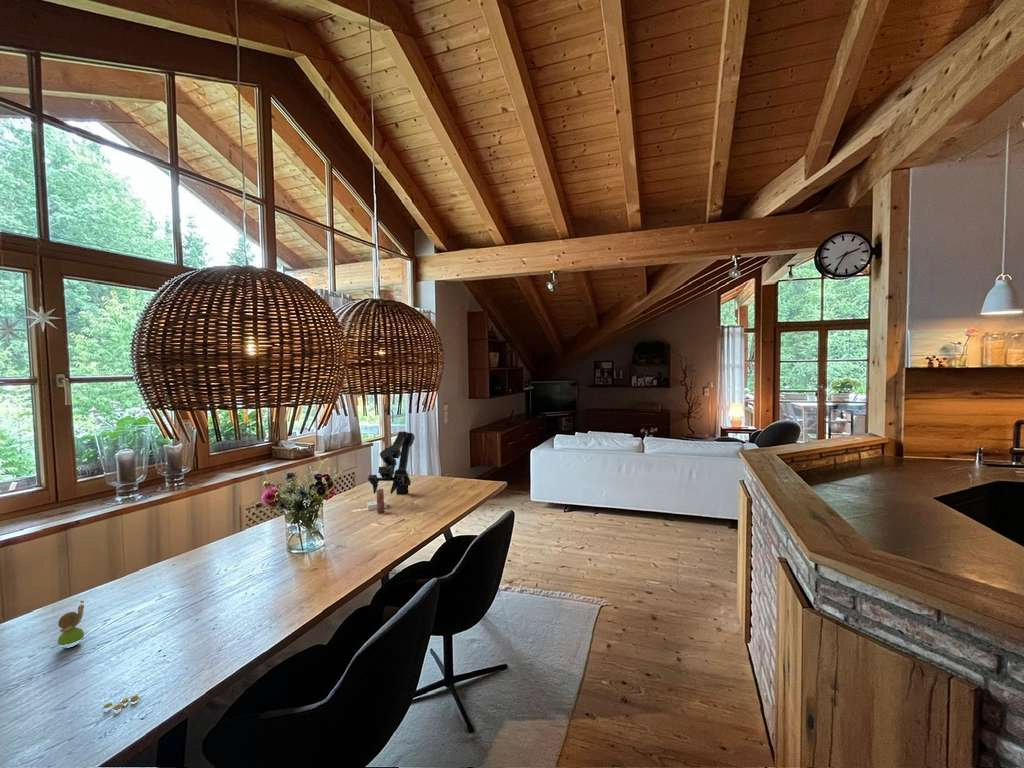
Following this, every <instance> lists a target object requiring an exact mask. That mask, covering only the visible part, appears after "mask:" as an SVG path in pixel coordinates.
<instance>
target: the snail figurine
mask: <svg viewBox="0 0 1024 768" xmlns="http://www.w3.org/2000/svg"><path fill="white" fill-rule="evenodd" d="M79 602H80V603H81V604H80V605H79V606H78V607H77V610H78V611H77V612H75V611H68V612H66V613H64V614H63V615H62V616H61V617H60V618H59V620H58V628H60V630H59V632H60V633H61V634H60V635H59V636H58V638H57V644H58V646H59V645H65V644H70V643H73V642H76V641H78V640H80V639H81V638H83V639H84V637H85V631H84V630H83V629H82V628H81V627H78V625H79V623H80V622H82V621H81V620H82V619H83V615H84V607H85V606H84V602H85V601H84V600H80V601H79ZM76 626H77V627H76ZM83 636H84V637H83Z"/></svg>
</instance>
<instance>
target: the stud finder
mask: <svg viewBox="0 0 1024 768" xmlns="http://www.w3.org/2000/svg"><path fill="white" fill-rule="evenodd" d="M385 508H386V509H387V508H388V503H387V500H386V499H384V509H385ZM366 509H367V511H375V510H377V500H375V501H369V502H366Z"/></svg>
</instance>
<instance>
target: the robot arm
mask: <svg viewBox="0 0 1024 768" xmlns="http://www.w3.org/2000/svg"><path fill="white" fill-rule="evenodd" d="M414 441H415V434H414V433H413V432H408V431H399V432H397V436H396V438H395V440H394V441H393V443H392V445H390V446H389V447H385V448H384V449H383V450H381V451H380V452H379V457H380V458H381V460H382V462H383V463H384V466H378V474H379V476H380V477H379V476H377V474H369V475H368V477H367V480H368V481H369V483H370V484H371V485H372V490H373V494H376V490H378V486H379V482H392V485H391V489H390V494H391V495H392V494H393V493H394V492H395V493H396V494H395V495H397V496H399V495H400V496H401V495H403V496H404V495H407V494H409V486H411V481H412V480H411V479H410V476H409V472H408V471H407V468H408V461H409V455H410V449H411V447H412V445H413V444H414ZM396 459H399V463H398V464H399V465H398V468H397V469H396V470H395V468H396V466H397V460H396Z"/></svg>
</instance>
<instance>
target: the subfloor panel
mask: <svg viewBox="0 0 1024 768" xmlns="http://www.w3.org/2000/svg"><path fill="white" fill-rule="evenodd" d="M364 510H367V511H368V509H367V508H359V509H353V510H350V512H353V513H354V512H355V513H356V512H361V511H364Z"/></svg>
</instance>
